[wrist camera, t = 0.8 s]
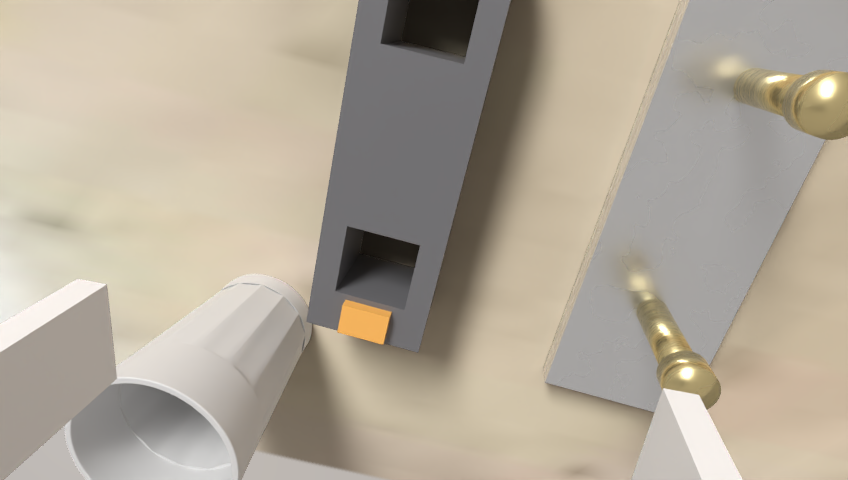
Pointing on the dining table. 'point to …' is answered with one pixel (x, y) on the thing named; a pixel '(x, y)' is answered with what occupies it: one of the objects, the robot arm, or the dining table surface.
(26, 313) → the robot arm
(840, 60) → the grey plate brass knobs
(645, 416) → the dining table surface
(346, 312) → the grey rectangular block
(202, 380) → the cup
